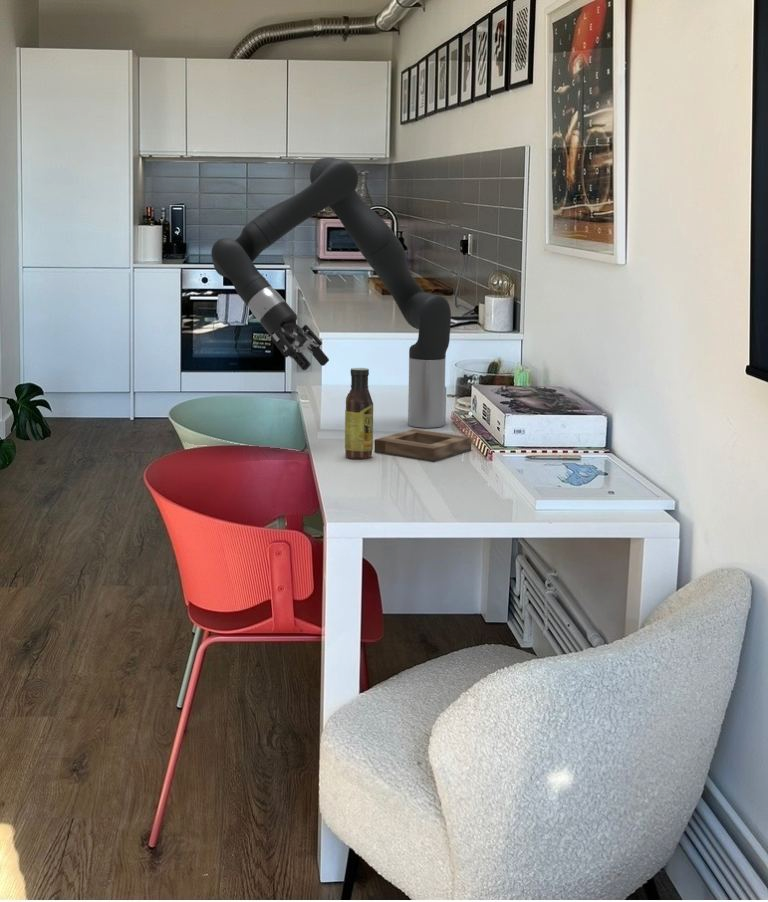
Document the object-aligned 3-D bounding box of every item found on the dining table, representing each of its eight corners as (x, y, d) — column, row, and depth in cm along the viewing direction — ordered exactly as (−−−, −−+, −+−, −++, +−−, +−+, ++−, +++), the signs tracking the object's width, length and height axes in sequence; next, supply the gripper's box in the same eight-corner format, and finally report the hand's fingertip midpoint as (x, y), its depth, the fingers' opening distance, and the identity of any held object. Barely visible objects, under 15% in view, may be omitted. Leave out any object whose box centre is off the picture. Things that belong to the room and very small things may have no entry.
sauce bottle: (369, 460, 266) (370, 371, 262) (341, 459, 268) (342, 370, 264) (375, 454, 273) (376, 367, 269) (348, 453, 274) (349, 366, 270)
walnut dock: (413, 441, 288) (413, 428, 287) (471, 450, 279) (471, 437, 278) (374, 452, 275) (374, 439, 274) (433, 461, 266) (433, 448, 265)
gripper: (266, 302, 265) (312, 358, 262) (298, 298, 277) (342, 351, 275) (245, 325, 268) (290, 380, 266) (278, 319, 281) (321, 372, 278)
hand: (317, 365), depth 270 cm, fingers open, 8 cm apart
